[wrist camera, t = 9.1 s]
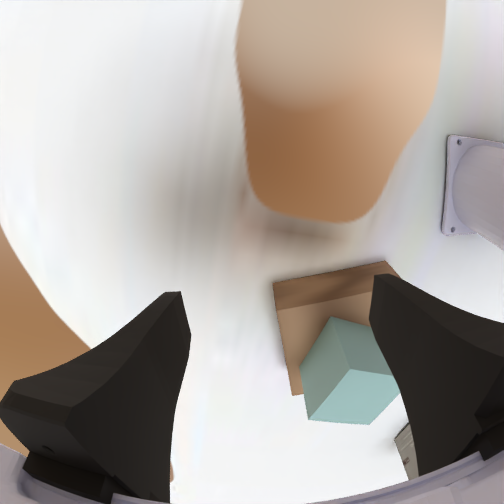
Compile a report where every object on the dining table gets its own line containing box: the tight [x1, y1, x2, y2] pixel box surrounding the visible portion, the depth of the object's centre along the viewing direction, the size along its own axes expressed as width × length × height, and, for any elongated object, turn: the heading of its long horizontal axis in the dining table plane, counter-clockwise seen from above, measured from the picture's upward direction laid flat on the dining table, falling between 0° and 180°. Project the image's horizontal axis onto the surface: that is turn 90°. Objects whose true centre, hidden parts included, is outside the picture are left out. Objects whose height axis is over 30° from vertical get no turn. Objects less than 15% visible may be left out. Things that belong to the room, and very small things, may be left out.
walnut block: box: [273, 261, 401, 396], centre depth 22 cm, size 9×9×4 cm
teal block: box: [299, 316, 400, 425], centre depth 18 cm, size 5×5×5 cm
